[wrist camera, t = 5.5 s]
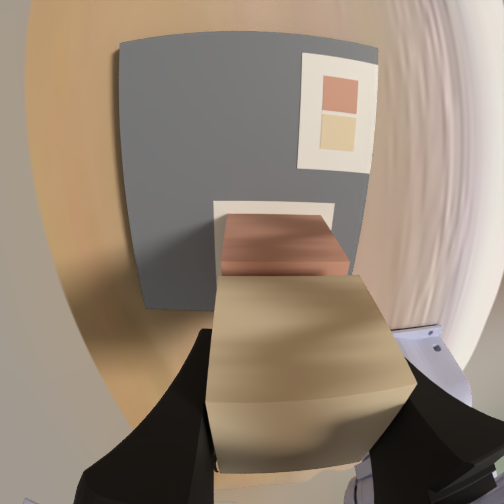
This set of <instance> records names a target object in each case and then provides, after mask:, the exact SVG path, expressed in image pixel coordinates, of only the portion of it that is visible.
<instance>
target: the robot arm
mask: <svg viewBox="0 0 504 504" xmlns="http://www.w3.org/2000/svg"><path fill="white" fill-rule="evenodd" d="M442 331H443V327H442V326H441V325H435V326H428V327H421V328H413V329H405V330H396V331H391V332H392V334H393V336H394V338H395V340H396V342H397V344H398V345H399V347H400V349H401V351H402V353H403V355H404V357H405V359H406V361H407V363H408V365H409V367H410V369H411V371H412V373H413V375H414V377H415V379H416V381H417V385H416V387H415V388H414V390H413V391H412V393H411V394H410V396H409V397H408V399H407V400H406V402H405V403H404V405H403V406H402V408H401V409H400V411H399V412H398V414H397V415H396V416H395V418H394V419H393V420H392V422H391V423H390V425H389V426H388V427H387V429H386V430H385V431H384V432H383V434H382V435H381V436H380V438H379V439H378V440H377V441H376V443H375V444H374V445H373V446H372V448H371V449H370V450H369V451H368V452H367V454H366V455H365V456H364V457H363V458H362V459H361V460H362V462H361V463H359V464H357V465H355V466H354V467H355V471H356V475H357V476H355V477H353V478H352V479H351V480H350V482H349V484H348V486H347V489H346V491H345V496H344V504H504V472H503V473H502V474H500V475H499V476H497V473H496V468H495V465H494V463H495V462H496V461H497V460H498V459H500V458H501V457H502V456H503V455H504V421H501V420H499V419H496V418H493V417H491V416H488V415H486V414H484V413H482V412H480V411H478V410H476V409H474V408H472V393H471V389H470V386H469V383H468V381H467V379H466V377H465V375H464V374H463V372H462V370H461V368H460V367H459V365H458V363H457V362H456V360H455V359H454V357H453V355H452V354H451V352H450V350H449V349H448V347H447V346H446V344H445V343H444V341H443V340H442V338H441V334H442ZM211 338H212V329H201V330H200V332H199V334H198V337H197V339H196V341H195V344H194V346H193V348H192V350H191V352H190V354H189V355H188V357H187V359H186V361H185V363H184V364H183V366H182V368H181V369H180V371H179V373H178V375H177V376H176V378H175V379H174V381H173V382H172V384H171V385H170V387H169V388H168V390H167V391H166V392H165V394H164V395H163V397H162V398H161V399H160V401H159V402H158V403H157V404H156V406H155V407H154V408H153V409H152V411H151V412H150V413H149V414H148V415H147V416H146V418H145V419H144V420H143V421H142V422H141V423H140V424H139V425H138V426H137V427H136V428H135V429H134V430H133V431H132V433H130V435H128V436H127V437H126V438H125V439H124V440H123V441H122V442H121V443H119V444H118V445H117V446H116V447H115V448H114V449H113V450H112V451H110V452H109V453H108V454H107V455H105V456H104V457H103V458H101V459H100V460H99V461H97V462H96V463H94V464H93V465H92V466H91V467H89V468H88V469H86V470H85V471H84V472H83V474H82V476H81V479H80V481H79V484H78V486H77V490H76V495H75V500H74V503H73V504H214V492H213V491H214V443H213V438H212V434H211V429H210V424H209V419H208V413H207V408H206V403H205V401H206V389H207V378H208V368H209V357H210V347H211ZM23 504H38V503H36V502H34V501H31V500H30V499H28V498H24V502H23Z"/></svg>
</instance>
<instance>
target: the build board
mask: <svg viewBox="0 0 504 504" xmlns="http://www.w3.org/2000/svg"><path fill="white" fill-rule="evenodd" d="M377 87H378V48H376V47H372V46H367V45H363V44H358V43H353V42H348V41H342V40H337V39H330V38H324V37H317V36H309V35H300V34H290V33H277V32H256V31H218V32H198V33H185V34H174V35H166V36H158V37H151V38H144V39H138V40H133V41H127V42H122V43H120V49H119V118H120V138H121V152H122V164H123V175H124V185H125V194H126V202H127V210H128V217H129V224H130V230H131V237H132V243H133V249H134V255H135V260H136V265H137V271H138V276H139V281H140V286H141V290H142V295H143V300H144V304H145V308H146V309H161V310H189V311H214V310H215V301H216V292H217V284H218V276H222V275H221V257H222V249H223V241H224V233H225V226H226V218H227V214H297V215H321V216H322V218H323V219H324V221H325V222H326V224H327V225H328V227H329V228H330V230H331V232H332V233H333V235H334V236H335V238H336V239H337V241H338V243H339V244H340V246H341V248H342V249H343V251H344V252H345V254H346V256H347V257H348V259H349V261H350V265H349V270H348V274H347V275H352V272H353V267H354V262H355V257H356V252H357V247H358V242H359V237H360V231H361V226H362V220H363V214H364V208H365V202H366V195H367V188H368V181H369V174H370V168H371V160H372V151H373V142H374V131H375V119H376V105H377Z"/></svg>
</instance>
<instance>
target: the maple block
mask: <svg viewBox="0 0 504 504" xmlns="http://www.w3.org/2000/svg"><path fill="white" fill-rule="evenodd" d="M416 385H417V381H416V379H415V377H414V375H413V373H412V371H411V369H410V367H409V365H408V363H407V361H406V359H405V357H404V355H403V353H402V351H401V349H400V347H399V345H398V344H397V342H396V340H395V338H394V336H393V334H392V332H391V330H390V328H389V327H388V325H387V323H386V321H385V319H384V317H383V316H382V314H381V312H380V310H379V308H378V307H377V305H376V303H375V301H374V300H373V298H372V296H371V294H370V293H369V291H368V289H367V287H366V286H365V284H364V282H363V281H362V279H361V277H360V276H359V275H343V276H218V284H217V292H216V301H215V310H214V319H213V328H212V338H211V347H210V357H209V368H208V378H207V389H206V401H205V403H206V408H207V413H208V419H209V424H210V429H211V434H212V438H213V443H214V448H215V452H216V457H217V461H218V466H219V470H220V473H234V474H247V473H276V472H290V471H301V470H310V469H318V468H325V467H332V466H338V465H344V464H350V463H355V462H360V461H361V459H362V458H363V457H364V456H365V455H366V454H367V452H368V451H369V450H370V449H371V448H372V446H373V445H374V444H375V443H376V441H377V440H378V439H379V438H380V436H381V435H382V434H383V432H384V431H385V430H386V429H387V427H388V426H389V425H390V423H391V422H392V420H393V419H394V418H395V416H396V415H397V414H398V412H399V411H400V409H401V408H402V406H403V405H404V403H405V402H406V400H407V399H408V397H409V396H410V394H411V393H412V391H413V390H414V388H415V387H416Z"/></svg>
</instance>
